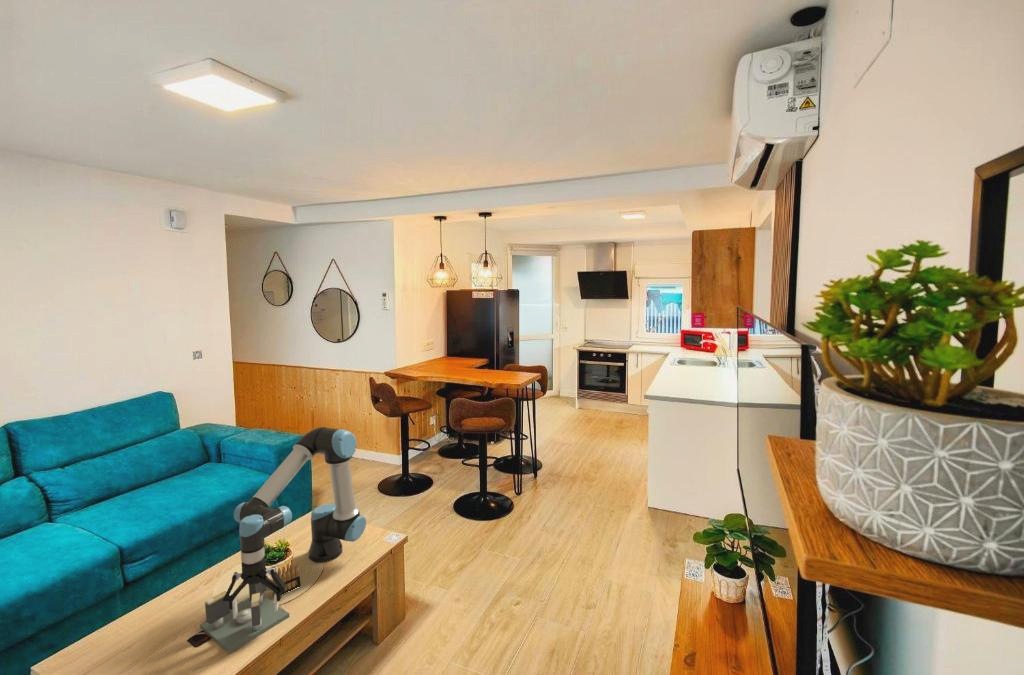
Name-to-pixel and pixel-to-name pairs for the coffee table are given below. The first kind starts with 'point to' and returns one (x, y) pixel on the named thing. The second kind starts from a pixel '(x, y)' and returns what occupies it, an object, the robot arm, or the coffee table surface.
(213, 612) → the knob
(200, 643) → the smartphone
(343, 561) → the coffee table surface
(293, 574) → the ammunition clip
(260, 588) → the grey brown rectangular block
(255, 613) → the knob
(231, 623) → the plate
